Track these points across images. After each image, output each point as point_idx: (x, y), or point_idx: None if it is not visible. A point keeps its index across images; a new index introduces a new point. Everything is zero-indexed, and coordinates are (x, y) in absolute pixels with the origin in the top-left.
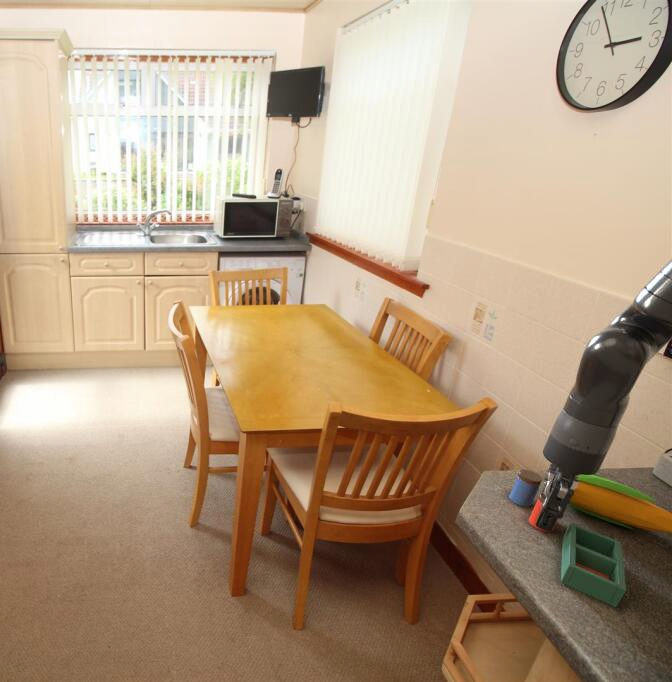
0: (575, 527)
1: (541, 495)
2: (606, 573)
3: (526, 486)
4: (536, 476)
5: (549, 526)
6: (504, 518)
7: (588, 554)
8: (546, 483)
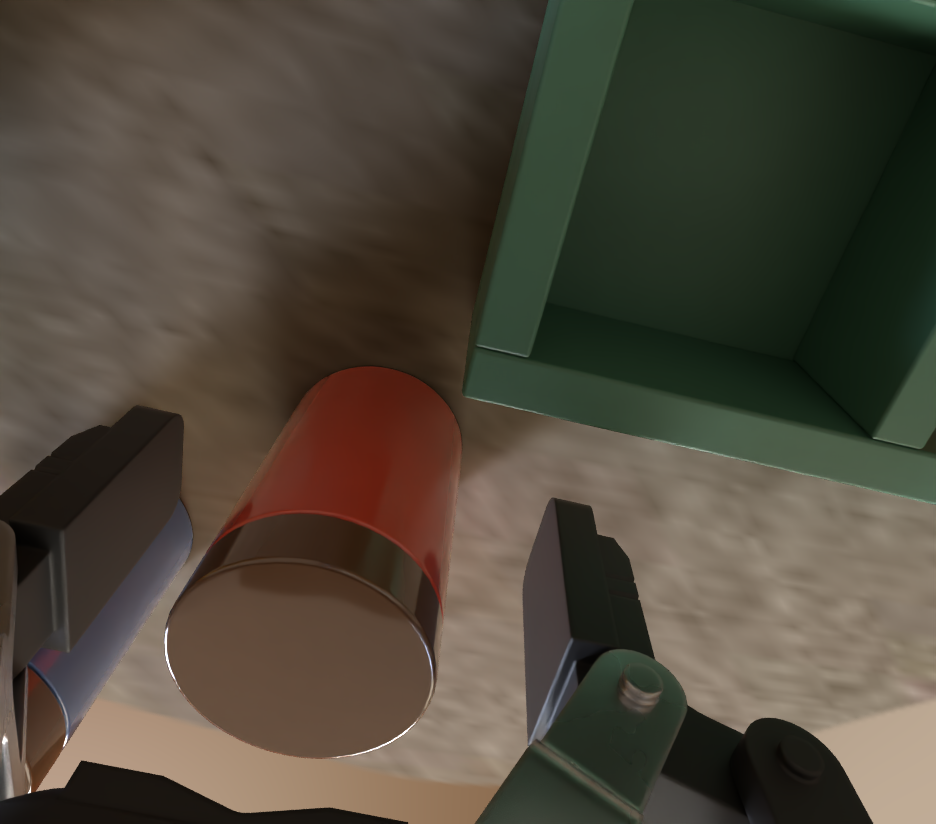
0: (548, 372)
1: (315, 752)
2: None
3: (87, 696)
4: None
5: (626, 576)
6: (448, 647)
7: None
8: (25, 730)
